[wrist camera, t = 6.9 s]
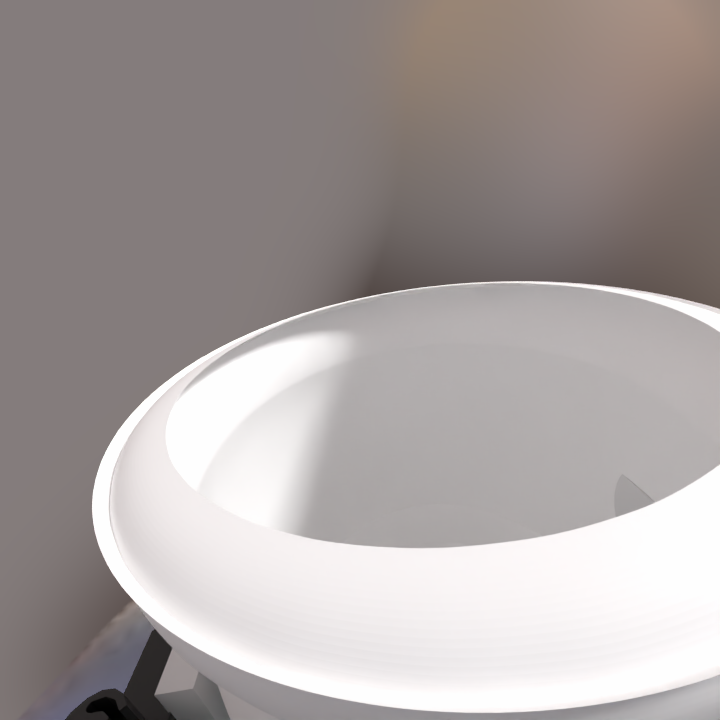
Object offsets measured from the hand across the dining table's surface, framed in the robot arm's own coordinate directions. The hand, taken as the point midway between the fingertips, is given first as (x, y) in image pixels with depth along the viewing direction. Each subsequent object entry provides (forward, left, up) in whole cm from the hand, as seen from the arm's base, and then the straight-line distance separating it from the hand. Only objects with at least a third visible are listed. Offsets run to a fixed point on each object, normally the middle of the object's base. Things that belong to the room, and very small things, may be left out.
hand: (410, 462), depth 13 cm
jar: (-3, +3, -9) cm, 10 cm away
